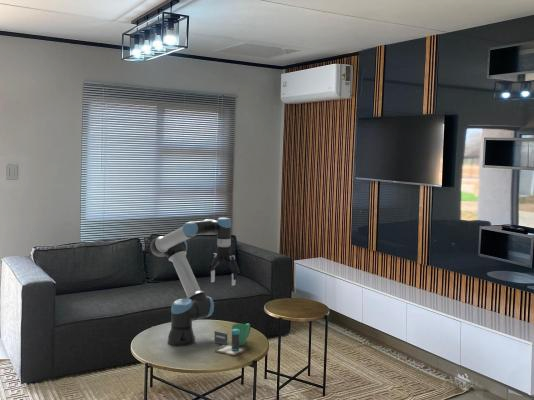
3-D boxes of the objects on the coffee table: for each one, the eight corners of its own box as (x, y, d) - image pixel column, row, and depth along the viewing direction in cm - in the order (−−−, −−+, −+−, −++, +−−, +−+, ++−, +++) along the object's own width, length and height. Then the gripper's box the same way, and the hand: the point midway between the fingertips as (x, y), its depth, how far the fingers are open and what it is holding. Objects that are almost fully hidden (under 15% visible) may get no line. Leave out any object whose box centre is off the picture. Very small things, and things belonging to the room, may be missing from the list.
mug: (243, 348, 314) (243, 330, 313) (228, 344, 318) (228, 327, 317) (256, 340, 327) (256, 323, 326) (241, 337, 331) (241, 320, 330)
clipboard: (215, 351, 307) (215, 349, 307) (225, 345, 316) (226, 343, 316) (235, 356, 301) (235, 354, 301) (246, 350, 310) (246, 347, 310)
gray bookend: (213, 342, 322) (213, 331, 321) (216, 340, 324) (216, 330, 324) (225, 344, 318) (225, 334, 317) (228, 343, 320) (228, 332, 320)
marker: (235, 348, 311) (235, 328, 310) (240, 349, 308) (241, 329, 307) (229, 350, 308) (230, 330, 307) (235, 352, 305) (235, 331, 304)
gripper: (201, 244, 315) (200, 281, 317) (239, 249, 304) (238, 288, 306) (208, 242, 322) (208, 279, 324) (246, 247, 310) (245, 285, 312)
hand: (223, 283), depth 315 cm, fingers open, 13 cm apart
